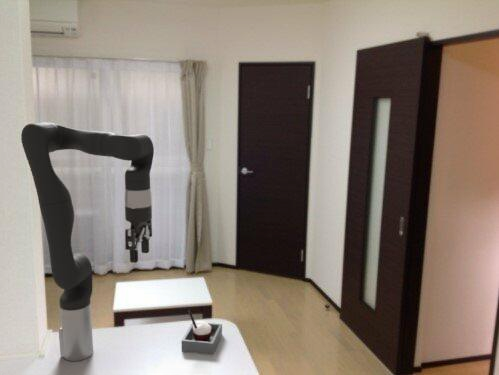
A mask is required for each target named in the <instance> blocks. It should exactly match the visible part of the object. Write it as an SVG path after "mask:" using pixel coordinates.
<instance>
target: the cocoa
mask: <svg viewBox="0 0 499 375" xmlns="http://www.w3.org/2000/svg"><path fill="white" fill-rule="evenodd" d="M187 312H188V314H189V317H190V320H191V323H192V322H193V336H194V339H195V340H196V341H205V342H207V341H208V340H209V339H210V337H211V335H212V334H213V332H214V329H213V328H211V326H210V325H209V324H208V323H209V322H206V321H204V320H197V321H196V320H195V319H194V316H193V313H192V311H191V310H190V309H187ZM212 329H213V331H212V332H211V330H212Z"/></svg>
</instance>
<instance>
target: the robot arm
mask: <svg viewBox="0 0 499 375" xmlns="http://www.w3.org/2000/svg"><path fill="white" fill-rule="evenodd" d="M20 138H21V144H22V148H23V151H24V154H25V157H26V160H27V163H28V166H29V169H30V171H31V175H32V178H33V183H34V186H35V190H36V194H37V195H36V196H37V199H38V205H39V210H40V213H41V218H42V220H43V221H42V222H43V225H44V229H45V230H44V232H45V234H46V240H47V244H48V252H49V259H50V269H51V276H52V278H53V280H54V282H55V284H56V285H57V286H58V287H59V289H61V290H63V292H62V294H61V295H60V296H59V310H60V311H59V312H60V328H59V329H58V338H59V340H58V341H59V352H60V358H63V359H64V360H66V361H69V362H70V361H71V362H77V361H82V360H86V359H88V358H90V357H91V356H92V355H93V354H94V343H93V342H94V341H93V339H94V338H93V322H92V320H93V319H92V306H91V305H92V304H91V297H92V295H93V267H92V263H91V260H90V259H89V258H88V257H87V256H86V255H85V254H83V253H79V252H77V253H73V248H72V234H73V228H74V222H75V210H74V206H73V204H74V203H73V200H72V197H71V193H70V191H69V189H68V188H67V186H66V185H65V183H64V182H63V181H62V180H61V179H60V177H59V176H58V175H57V173H56V171H55V170H54V167H53V165H52V161H51V158H50V157H51V156H50V153H53V152H57V151H63V150H64V151H65V150H66V151H67V150H74V151H75V150H76V151H80V152H82V153H85V154H89V155H93V156H101V157H109V158H110V157H112V158H114V159H118V160H122V161H128V162H129V161H131V162H130V167H128V168H127V169H126V171H125V172H124V185H125V187H124V189H125V190H124V216H125V221H127V222H128V223H130V228H125V231H124V232H125V233H124V234H125V235H124V239H125V240H124V242H125V243H124V244H125V245H124V246H125V248H124V249H125V250H128V251H129V261H130V263H135V264H136V263H138V262H139V245H140V246H141V248H140V249H141V250H140V251H141V253H142V254H148V253H149V252H150V241H151V238H152V237H153V226H152V218H153V215H152V214H153V213H152V212H153V210H152V208H153V207H152V204H153V203H152V192H151V175H150V174H151V169H152V164H153V159H154V153H155V152H154V151H155V148H154V147H155V146H154V144H153V141H152V139H151V137H150V136H149V135H147V134H143V133H139V134H131V135H125V134H123V135H122V134H118V133H115V132H109V131H99V130H84V129H77V128H72V127H67V126H65V125H61V124H57V123H54V122H50V121H49V122H48V121H47V122H46V121H45V122H34V123H29V124H26V125H25V126H24V127H23V128H22V131H21V136H20Z"/></svg>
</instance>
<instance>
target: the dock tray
mask: <svg viewBox="0 0 499 375" xmlns="http://www.w3.org/2000/svg"><path fill="white" fill-rule="evenodd" d="M207 323H208V324H209V325H210V326H211V328H213V329H214V332H213V334H212V335H211V337H210V339H209V340H208V341H207V342H205V341H196V340H195V339H194V336H193V322H192V321H191V324H190V326H189V327H188V329H187V331H186V332H185V334H184V336H183V338H182V339H181V352H182V353H189V354H190V353H192V354H201V355H202V354H203V355H212V356H213V355H214V353H215V351H216V349H217V347H218V344H219V342H220V341H221V338H222V336H223V324H222V323H215V322H214V323H213V322H211V323H210V322H207ZM213 329H212V330H211V332H212V331H213Z"/></svg>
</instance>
